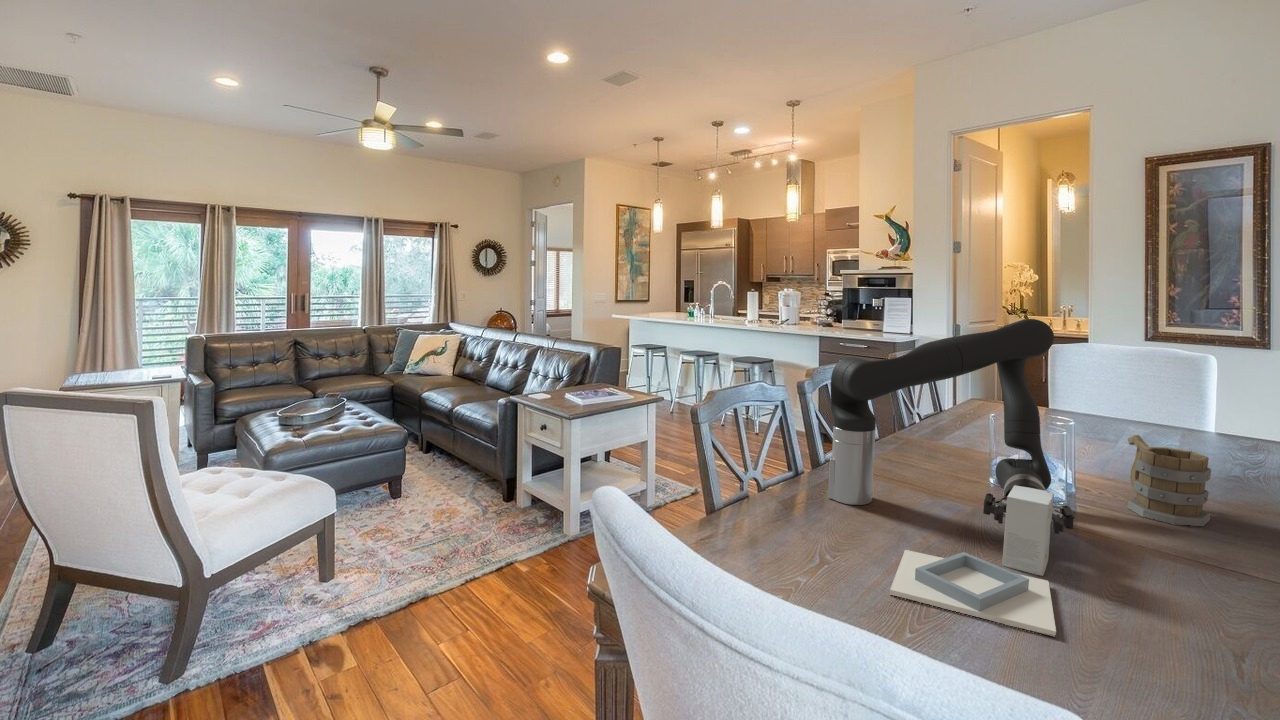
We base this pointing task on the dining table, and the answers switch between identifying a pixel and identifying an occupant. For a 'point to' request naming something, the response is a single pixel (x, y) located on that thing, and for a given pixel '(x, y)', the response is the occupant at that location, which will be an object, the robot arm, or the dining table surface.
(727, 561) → the dining table surface
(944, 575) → the jig cradle
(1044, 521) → the small box
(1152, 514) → the tankard
